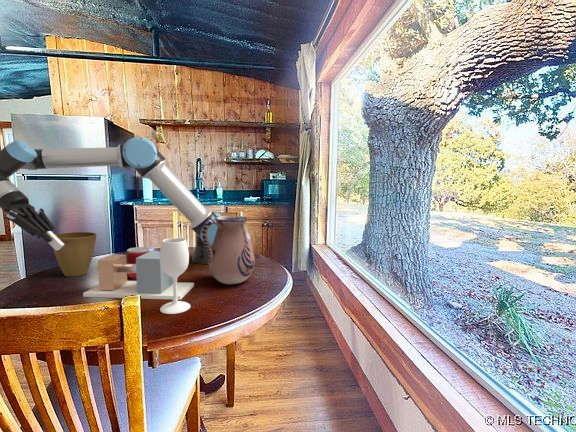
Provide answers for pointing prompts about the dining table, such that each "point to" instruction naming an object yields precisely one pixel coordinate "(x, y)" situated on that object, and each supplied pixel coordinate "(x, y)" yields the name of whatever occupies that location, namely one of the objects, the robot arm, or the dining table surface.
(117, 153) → the robot arm
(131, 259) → the canned food
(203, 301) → the dining table surface
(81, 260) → the plant pot
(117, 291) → the bearing block
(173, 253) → the wineglass
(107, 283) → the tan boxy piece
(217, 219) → the ceramic pitcher
